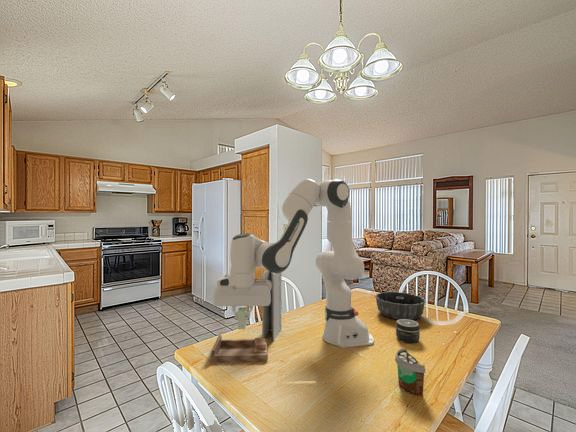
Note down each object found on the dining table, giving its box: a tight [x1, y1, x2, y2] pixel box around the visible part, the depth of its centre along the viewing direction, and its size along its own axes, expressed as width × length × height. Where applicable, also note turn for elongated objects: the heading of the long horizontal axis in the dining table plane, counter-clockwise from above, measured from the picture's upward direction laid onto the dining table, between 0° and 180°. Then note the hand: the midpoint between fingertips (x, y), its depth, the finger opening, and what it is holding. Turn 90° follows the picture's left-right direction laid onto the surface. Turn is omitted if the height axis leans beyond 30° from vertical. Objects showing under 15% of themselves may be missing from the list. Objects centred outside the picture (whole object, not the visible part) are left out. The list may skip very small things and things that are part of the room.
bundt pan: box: [374, 291, 427, 321], centre depth 161 cm, size 26×26×10 cm
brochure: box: [261, 269, 283, 342], centre depth 134 cm, size 14×6×30 cm, turn 168°
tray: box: [210, 334, 269, 364], centre depth 115 cm, size 21×14×5 cm, turn 92°
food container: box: [394, 347, 426, 397], centre depth 94 cm, size 12×6×10 cm, turn 5°
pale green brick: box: [237, 306, 248, 330], centre depth 103 cm, size 2×6×6 cm, turn 2°
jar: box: [395, 318, 421, 345], centre depth 129 cm, size 10×10×8 cm
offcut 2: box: [254, 343, 267, 354], centre depth 116 cm, size 5×8×2 cm, turn 2°
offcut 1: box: [254, 337, 266, 351], centre depth 116 cm, size 4×6×2 cm, turn 10°
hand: (242, 317), depth 103 cm, fingers closed on pale green brick, 2 cm apart
